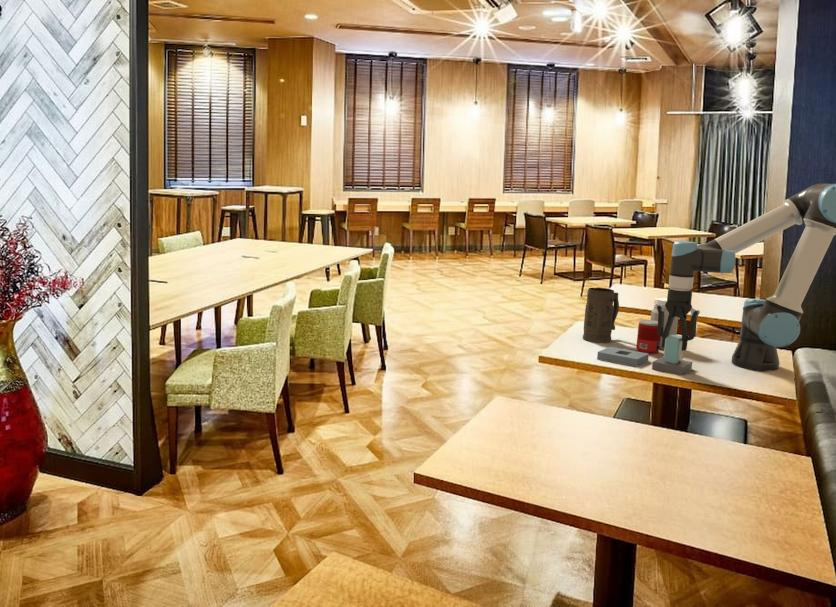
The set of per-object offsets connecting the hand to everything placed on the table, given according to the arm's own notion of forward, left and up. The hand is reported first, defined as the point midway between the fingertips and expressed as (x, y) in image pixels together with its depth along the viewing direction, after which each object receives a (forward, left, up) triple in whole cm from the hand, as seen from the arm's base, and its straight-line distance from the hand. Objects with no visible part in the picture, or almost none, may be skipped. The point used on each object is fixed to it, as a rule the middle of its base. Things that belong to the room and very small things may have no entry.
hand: (673, 358), depth 259 cm
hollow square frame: (0, 0, -4) cm, 4 cm away
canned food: (+15, -19, -4) cm, 25 cm away
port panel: (+17, 0, -4) cm, 17 cm away
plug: (0, 0, -4) cm, 4 cm away
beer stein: (+36, -26, -4) cm, 45 cm away
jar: (+14, -31, -4) cm, 34 cm away
